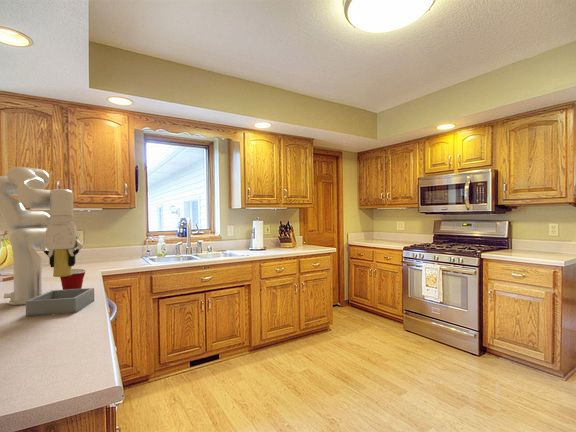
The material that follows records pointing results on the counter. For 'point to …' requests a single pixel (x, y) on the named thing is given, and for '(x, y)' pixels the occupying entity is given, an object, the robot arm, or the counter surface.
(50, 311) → the box
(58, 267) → the vase
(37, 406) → the counter surface
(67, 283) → the plastic cup
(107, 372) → the counter surface
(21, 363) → the counter surface
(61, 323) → the counter surface
